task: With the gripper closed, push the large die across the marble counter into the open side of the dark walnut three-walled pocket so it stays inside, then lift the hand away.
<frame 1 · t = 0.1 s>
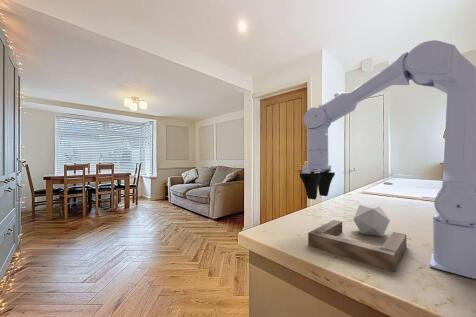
hand: (318, 197, 60), 10 cm above the counter, tool pointing down, fingers open, 7 cm apart
pocket: (357, 245, 50), on the counter
die: (370, 234, 59), on the counter
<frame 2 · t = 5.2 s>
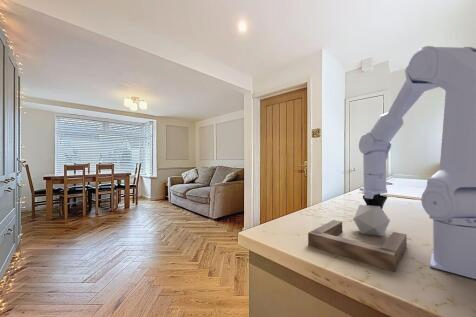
hand: (375, 219, 62), 3 cm above the counter, tool pointing down, fingers closed
die: (370, 234, 59), on the counter, touching gripper
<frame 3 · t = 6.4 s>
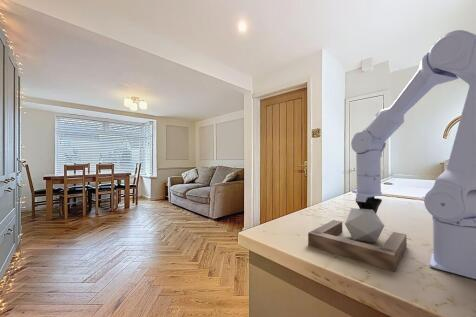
hand: (368, 224, 57), 3 cm above the counter, tool pointing down, fingers closed
die: (363, 240, 54), on the counter, touching gripper
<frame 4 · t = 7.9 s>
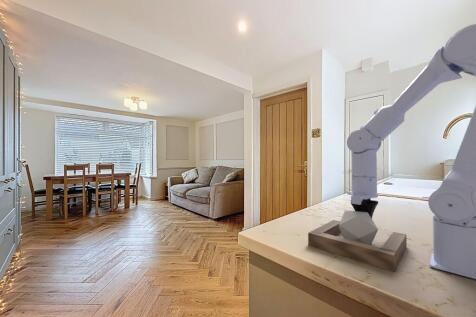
hand: (364, 227, 54), 3 cm above the counter, tool pointing down, fingers closed
die: (357, 244, 51), on the counter, touching gripper
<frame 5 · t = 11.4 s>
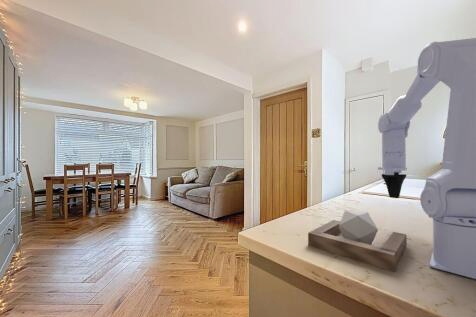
hand: (394, 197, 63), 9 cm above the counter, tool pointing down, fingers closed
die: (357, 244, 51), on the counter
at the end: die inside the target area on the pocket (3.7 cm from its centre), point 0.0 cm above the pocket's base; die tilted 1°; die moved 10.8 cm from its start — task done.
